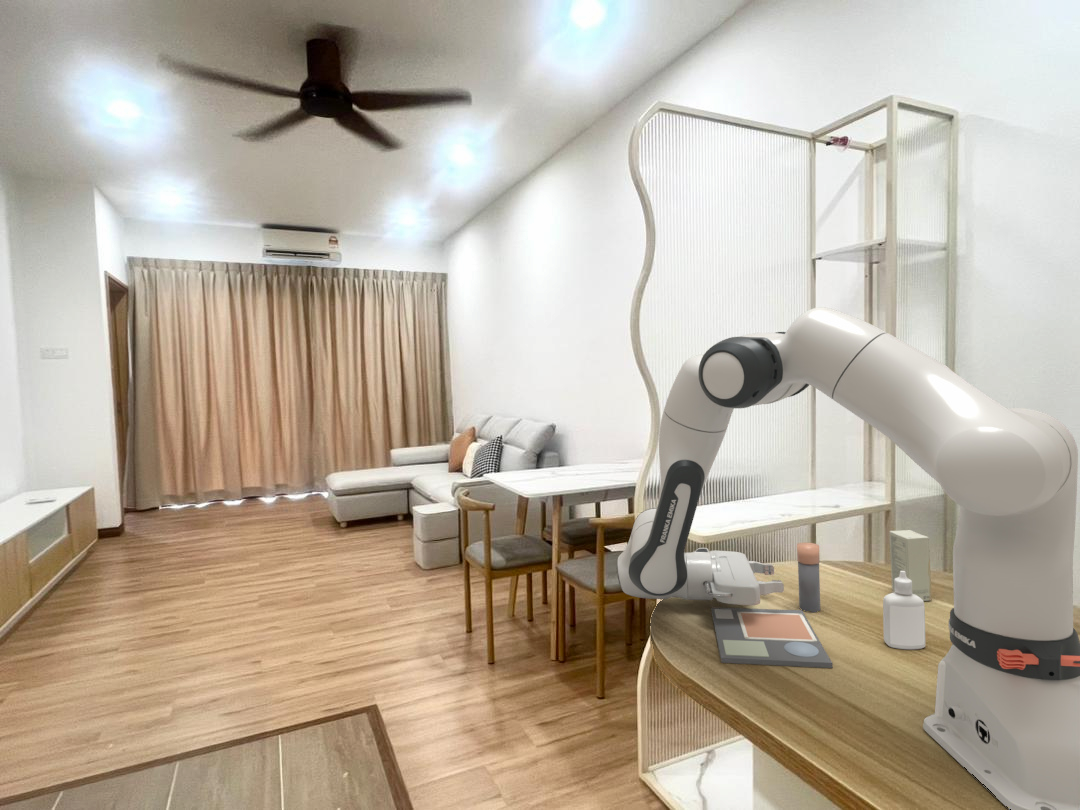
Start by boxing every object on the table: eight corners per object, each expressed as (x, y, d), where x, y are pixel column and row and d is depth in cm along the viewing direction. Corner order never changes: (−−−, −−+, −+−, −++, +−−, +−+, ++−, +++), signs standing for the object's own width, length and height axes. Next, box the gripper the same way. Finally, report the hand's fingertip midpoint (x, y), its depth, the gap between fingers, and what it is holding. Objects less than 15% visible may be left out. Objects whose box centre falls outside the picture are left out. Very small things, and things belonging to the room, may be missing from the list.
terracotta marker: (823, 612, 108) (821, 548, 108) (801, 612, 109) (799, 548, 109) (818, 604, 112) (816, 542, 112) (796, 604, 113) (794, 542, 112)
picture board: (832, 668, 89) (832, 662, 89) (721, 662, 92) (721, 656, 92) (802, 614, 108) (801, 609, 108) (711, 611, 112) (711, 606, 111)
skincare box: (932, 601, 111) (931, 537, 111) (908, 602, 111) (907, 538, 111) (912, 589, 117) (911, 529, 117) (889, 590, 118) (888, 530, 117)
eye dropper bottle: (923, 655, 91) (922, 578, 91) (882, 646, 95) (880, 572, 94) (926, 644, 95) (925, 570, 94) (886, 635, 98) (884, 564, 98)
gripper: (705, 578, 104) (789, 579, 101) (698, 545, 124) (768, 545, 121) (706, 613, 104) (790, 616, 101) (699, 574, 124) (769, 576, 121)
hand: (778, 577), depth 111 cm, fingers open, 8 cm apart
